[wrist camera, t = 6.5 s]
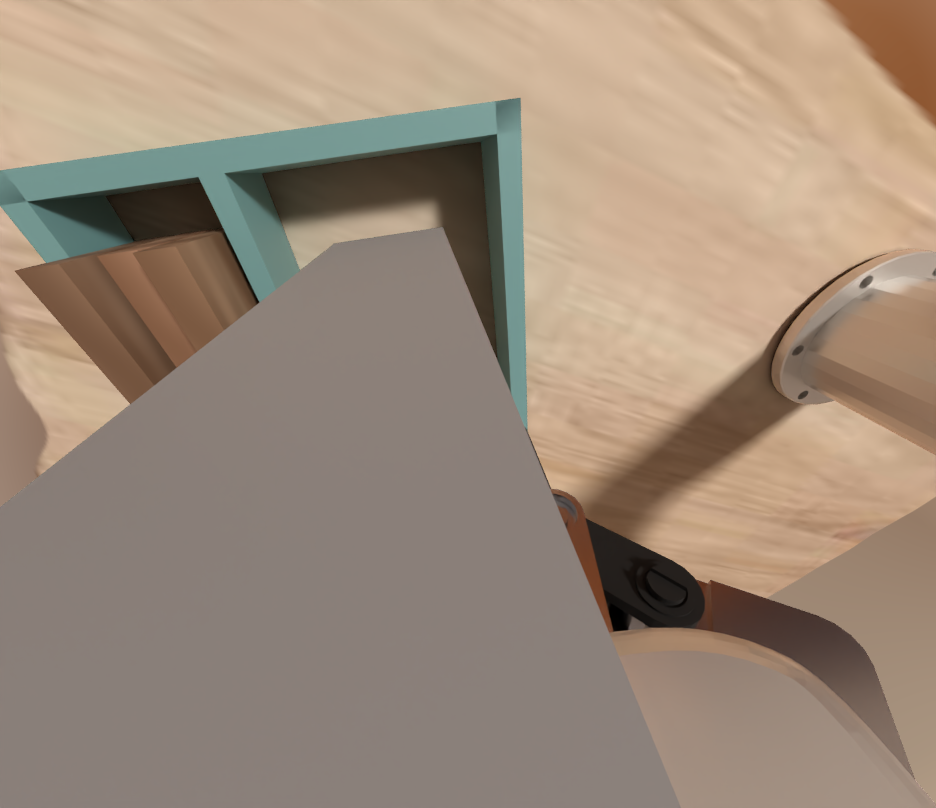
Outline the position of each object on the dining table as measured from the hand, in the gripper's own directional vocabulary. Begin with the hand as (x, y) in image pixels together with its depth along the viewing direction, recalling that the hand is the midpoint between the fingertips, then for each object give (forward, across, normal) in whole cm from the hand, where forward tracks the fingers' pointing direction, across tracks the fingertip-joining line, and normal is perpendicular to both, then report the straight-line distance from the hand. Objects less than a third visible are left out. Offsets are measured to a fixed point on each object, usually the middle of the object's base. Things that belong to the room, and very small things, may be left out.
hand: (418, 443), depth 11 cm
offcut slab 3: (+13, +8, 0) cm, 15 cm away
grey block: (+5, 0, 0) cm, 5 cm away
